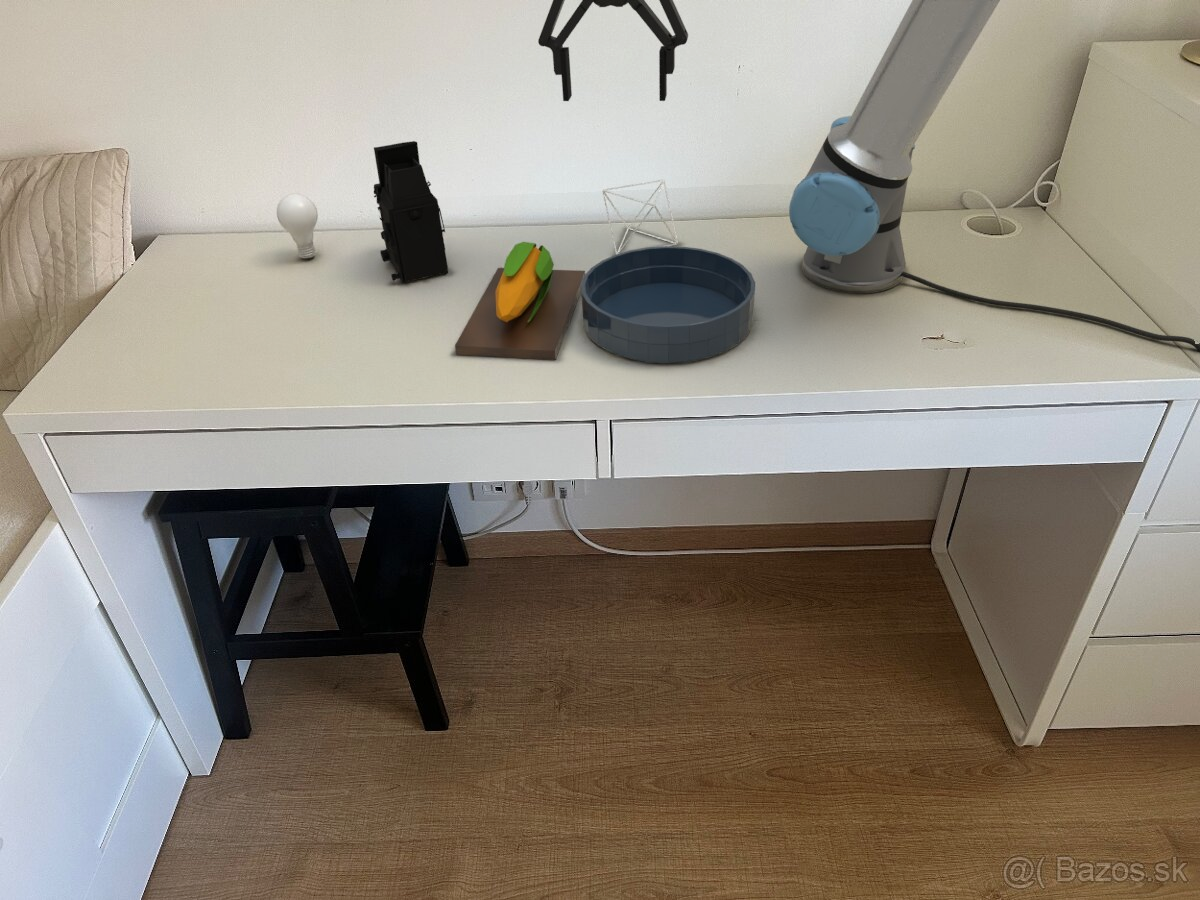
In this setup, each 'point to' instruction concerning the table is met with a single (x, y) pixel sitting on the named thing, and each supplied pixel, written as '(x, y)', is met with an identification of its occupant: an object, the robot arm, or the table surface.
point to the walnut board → (523, 322)
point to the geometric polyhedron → (639, 213)
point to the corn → (523, 280)
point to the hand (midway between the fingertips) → (614, 98)
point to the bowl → (667, 304)
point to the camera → (408, 214)
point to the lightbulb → (299, 221)
